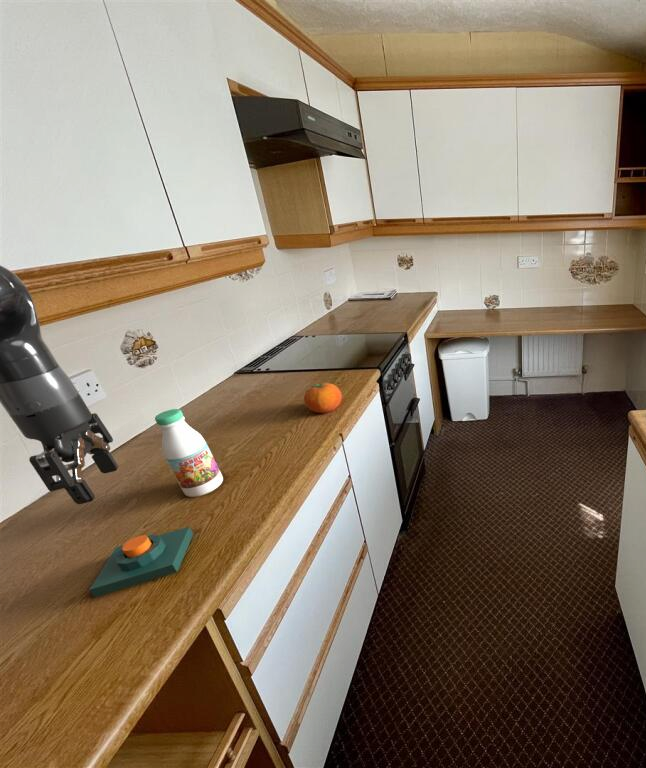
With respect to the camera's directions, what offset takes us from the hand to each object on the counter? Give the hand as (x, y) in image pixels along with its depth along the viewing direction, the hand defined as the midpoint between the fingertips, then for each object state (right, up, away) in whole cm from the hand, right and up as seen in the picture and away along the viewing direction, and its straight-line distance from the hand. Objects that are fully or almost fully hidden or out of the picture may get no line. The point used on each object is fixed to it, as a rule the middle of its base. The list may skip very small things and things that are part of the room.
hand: (99, 485), depth 68 cm
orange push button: (+1, -13, +6) cm, 15 cm away
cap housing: (+1, -17, +8) cm, 18 cm away
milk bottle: (-3, -7, +28) cm, 29 cm away
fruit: (+11, +9, +59) cm, 61 cm away
